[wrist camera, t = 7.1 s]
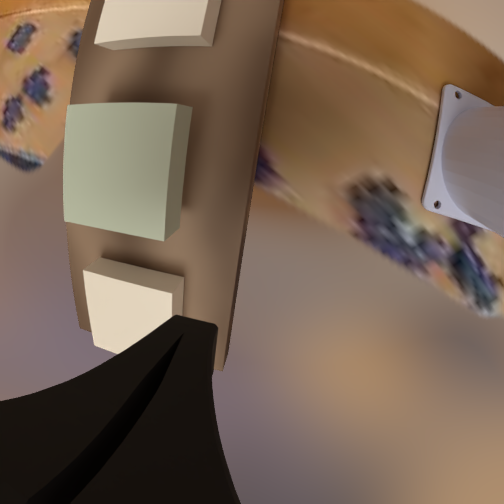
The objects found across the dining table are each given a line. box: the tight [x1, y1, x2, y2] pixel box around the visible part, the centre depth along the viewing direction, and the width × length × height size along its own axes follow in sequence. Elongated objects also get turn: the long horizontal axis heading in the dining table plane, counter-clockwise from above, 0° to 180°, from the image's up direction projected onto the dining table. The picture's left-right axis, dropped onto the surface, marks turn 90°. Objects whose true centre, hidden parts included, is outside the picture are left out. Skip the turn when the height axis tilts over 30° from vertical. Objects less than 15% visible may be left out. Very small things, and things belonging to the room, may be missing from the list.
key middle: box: [63, 103, 193, 241], centre depth 13 cm, size 6×6×2 cm
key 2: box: [83, 257, 184, 354], centre depth 18 cm, size 6×6×2 cm
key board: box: [66, 0, 284, 371], centre depth 16 cm, size 12×27×2 cm, turn 171°
